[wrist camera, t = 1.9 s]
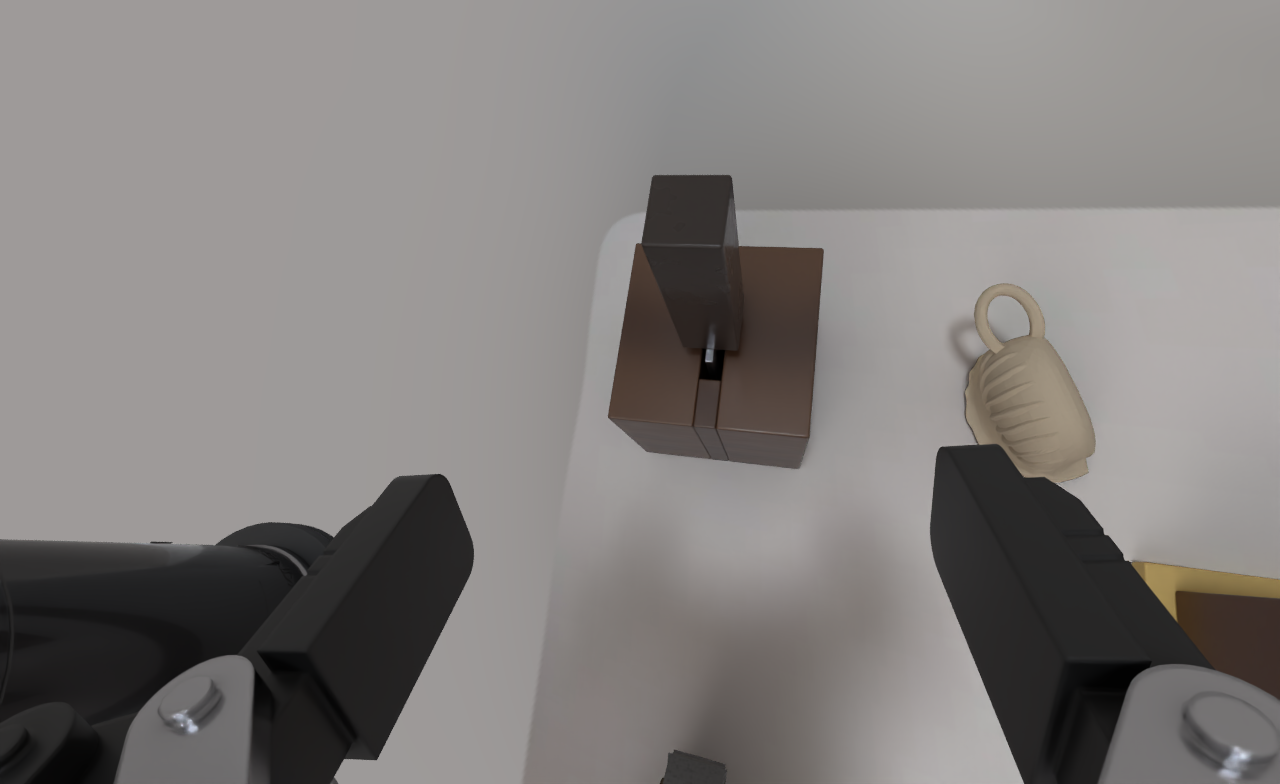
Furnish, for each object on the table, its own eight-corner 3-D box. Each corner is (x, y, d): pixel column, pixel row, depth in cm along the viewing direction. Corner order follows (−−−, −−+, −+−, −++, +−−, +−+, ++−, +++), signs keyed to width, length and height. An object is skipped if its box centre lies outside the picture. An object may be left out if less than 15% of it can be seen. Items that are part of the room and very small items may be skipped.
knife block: (799, 469, 30) (809, 438, 22) (645, 451, 32) (607, 418, 24) (811, 321, 32) (824, 247, 24) (665, 313, 34) (635, 242, 26)
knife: (746, 417, 31) (720, 265, 15) (704, 413, 31) (637, 262, 16) (752, 360, 32) (734, 157, 16) (711, 357, 32) (654, 158, 16)
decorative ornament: (996, 496, 28) (1046, 481, 22) (934, 334, 30) (967, 289, 25) (1088, 476, 27) (1162, 458, 22) (1018, 314, 30) (1069, 263, 24)
